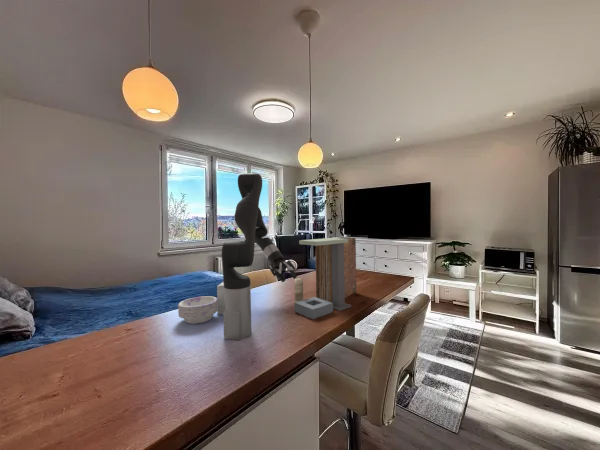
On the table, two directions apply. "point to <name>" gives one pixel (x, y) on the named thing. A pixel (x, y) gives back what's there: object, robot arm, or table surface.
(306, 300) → the socket
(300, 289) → the peg
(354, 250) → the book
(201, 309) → the paper bowls
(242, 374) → the table surface
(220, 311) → the supplement box
